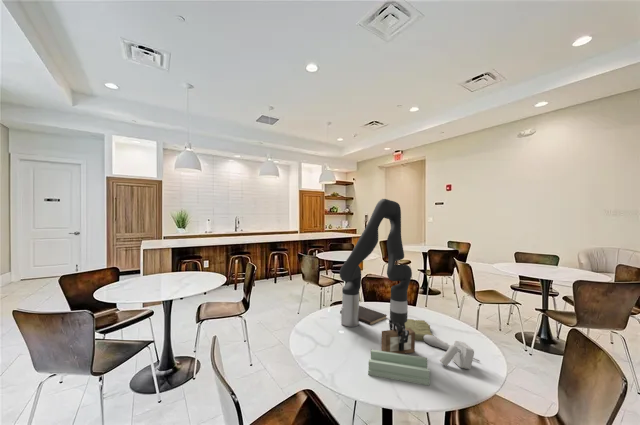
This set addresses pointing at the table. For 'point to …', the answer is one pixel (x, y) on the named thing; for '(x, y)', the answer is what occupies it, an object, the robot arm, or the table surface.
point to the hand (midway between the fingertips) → (398, 347)
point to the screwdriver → (438, 343)
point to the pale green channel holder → (399, 367)
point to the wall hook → (459, 355)
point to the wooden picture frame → (397, 342)
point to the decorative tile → (418, 328)
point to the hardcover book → (369, 315)
